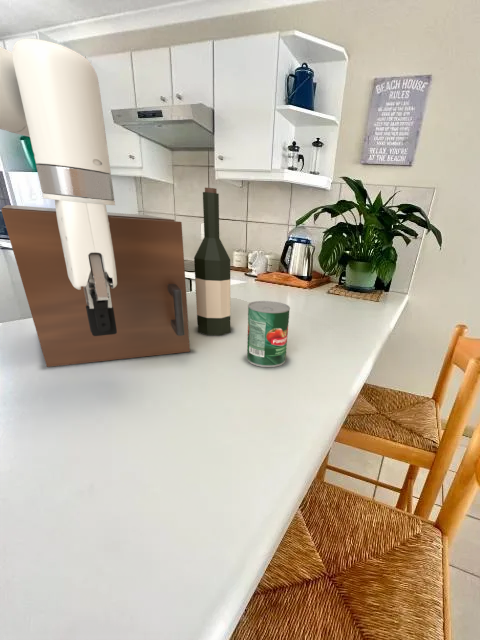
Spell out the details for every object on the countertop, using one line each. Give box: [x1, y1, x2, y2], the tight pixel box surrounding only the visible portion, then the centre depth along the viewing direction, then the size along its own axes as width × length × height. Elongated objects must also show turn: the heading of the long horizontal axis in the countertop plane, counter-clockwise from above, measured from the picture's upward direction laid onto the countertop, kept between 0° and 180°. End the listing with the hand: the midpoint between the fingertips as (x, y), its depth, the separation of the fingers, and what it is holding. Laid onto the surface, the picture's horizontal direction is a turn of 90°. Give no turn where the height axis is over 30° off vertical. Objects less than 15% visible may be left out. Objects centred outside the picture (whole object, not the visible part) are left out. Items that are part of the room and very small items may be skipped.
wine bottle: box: [193, 187, 231, 336], centre depth 72 cm, size 8×8×30 cm
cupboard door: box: [0, 208, 191, 368], centre depth 53 cm, size 6×24×24 cm, turn 118°
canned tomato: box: [246, 300, 291, 368], centre depth 63 cm, size 8×8×11 cm
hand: (104, 333), depth 47 cm, fingers closed
